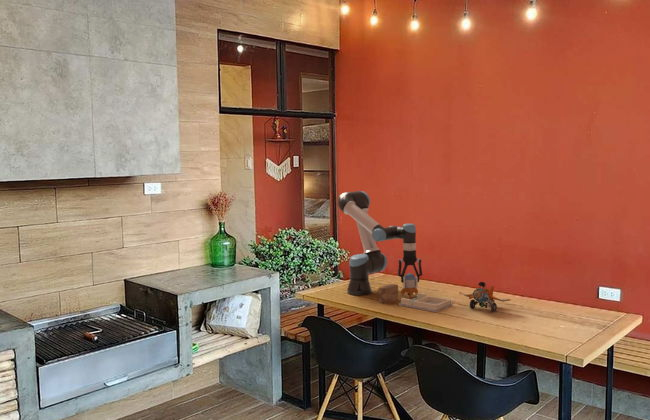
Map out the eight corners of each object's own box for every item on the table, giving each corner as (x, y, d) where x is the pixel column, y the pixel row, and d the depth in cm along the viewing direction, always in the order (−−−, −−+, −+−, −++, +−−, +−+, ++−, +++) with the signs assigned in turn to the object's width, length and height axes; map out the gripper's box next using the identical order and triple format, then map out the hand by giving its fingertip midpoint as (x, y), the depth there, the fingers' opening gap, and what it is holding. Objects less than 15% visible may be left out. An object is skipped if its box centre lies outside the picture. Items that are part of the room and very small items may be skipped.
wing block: (378, 302, 339) (378, 287, 338) (391, 298, 348) (391, 283, 347) (385, 304, 336) (385, 288, 335) (398, 299, 344) (397, 284, 344)
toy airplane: (448, 304, 317) (452, 277, 320) (466, 308, 335) (469, 282, 337) (501, 312, 299) (504, 283, 301) (516, 316, 317) (519, 288, 319)
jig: (398, 305, 332) (398, 298, 332) (416, 299, 345) (416, 292, 345) (435, 312, 316) (435, 305, 315) (452, 305, 329) (452, 298, 328)
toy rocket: (417, 295, 357) (420, 272, 353) (418, 303, 347) (422, 279, 342) (400, 293, 357) (403, 270, 353) (401, 300, 347) (404, 277, 343)
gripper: (394, 251, 344) (394, 289, 346) (427, 250, 345) (427, 288, 347) (392, 249, 351) (392, 286, 353) (424, 248, 352) (425, 285, 354)
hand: (410, 287), depth 350 cm, fingers closed on toy rocket, 7 cm apart
